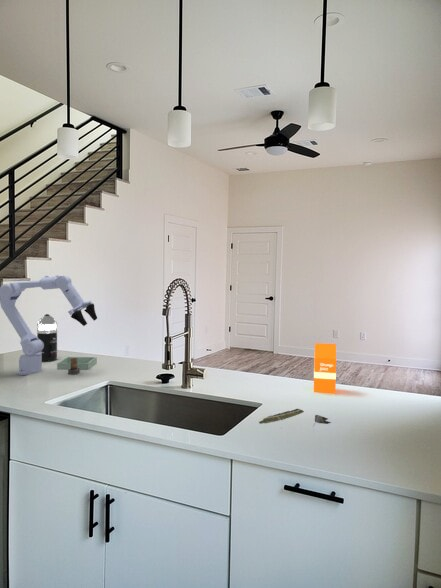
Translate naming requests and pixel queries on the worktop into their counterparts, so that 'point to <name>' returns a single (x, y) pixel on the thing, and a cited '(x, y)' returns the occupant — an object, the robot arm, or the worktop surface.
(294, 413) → the dried leaves
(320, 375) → the orange juice
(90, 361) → the bin
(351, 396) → the worktop surface
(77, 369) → the strut
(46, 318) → the spray bottle
